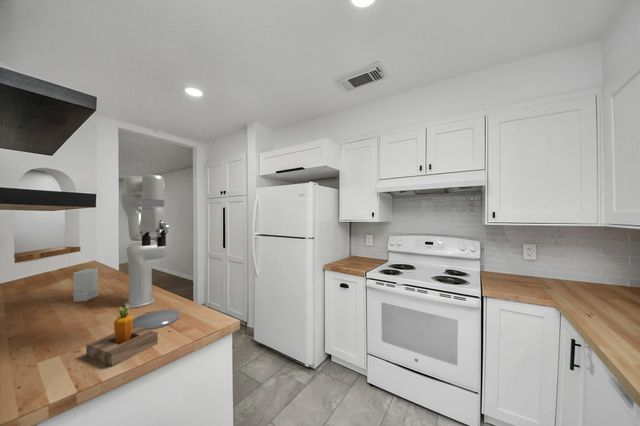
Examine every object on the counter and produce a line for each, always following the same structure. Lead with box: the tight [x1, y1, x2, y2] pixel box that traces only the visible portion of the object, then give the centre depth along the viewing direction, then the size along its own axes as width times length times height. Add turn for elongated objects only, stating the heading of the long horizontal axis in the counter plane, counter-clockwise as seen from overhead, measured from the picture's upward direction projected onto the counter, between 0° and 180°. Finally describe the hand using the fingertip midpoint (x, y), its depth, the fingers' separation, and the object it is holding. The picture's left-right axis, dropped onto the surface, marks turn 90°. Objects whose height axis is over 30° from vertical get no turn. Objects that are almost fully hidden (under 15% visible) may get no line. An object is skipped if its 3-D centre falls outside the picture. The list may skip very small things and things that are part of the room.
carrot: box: [113, 306, 134, 345], centre depth 82 cm, size 5×5×15 cm
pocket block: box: [85, 326, 159, 368], centre depth 82 cm, size 14×14×4 cm
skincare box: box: [73, 268, 99, 302], centre depth 130 cm, size 8×7×16 cm
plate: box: [132, 309, 181, 331], centre depth 104 cm, size 18×18×1 cm
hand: (153, 246), depth 99 cm, fingers open, 9 cm apart
